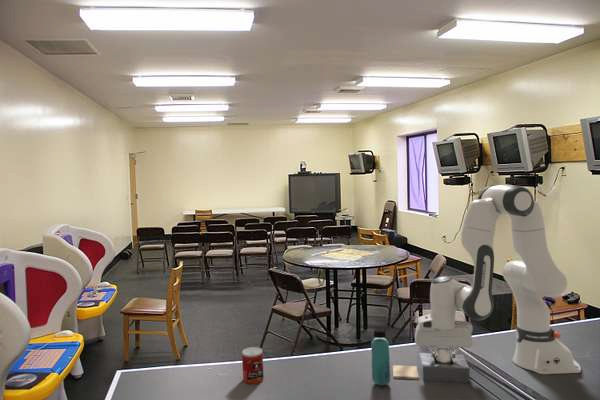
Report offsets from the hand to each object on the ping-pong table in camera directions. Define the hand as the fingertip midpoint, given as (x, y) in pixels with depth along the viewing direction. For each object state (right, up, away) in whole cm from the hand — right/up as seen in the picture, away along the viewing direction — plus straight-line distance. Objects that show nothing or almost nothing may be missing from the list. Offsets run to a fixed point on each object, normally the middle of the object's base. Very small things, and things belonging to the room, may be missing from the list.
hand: (443, 357), depth 161 cm
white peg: (0, -6, 0) cm, 6 cm away
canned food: (-71, -9, +1) cm, 71 cm away
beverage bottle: (-24, -8, -6) cm, 26 cm away
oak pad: (-14, -7, +2) cm, 15 cm away
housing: (0, -6, 0) cm, 6 cm away
